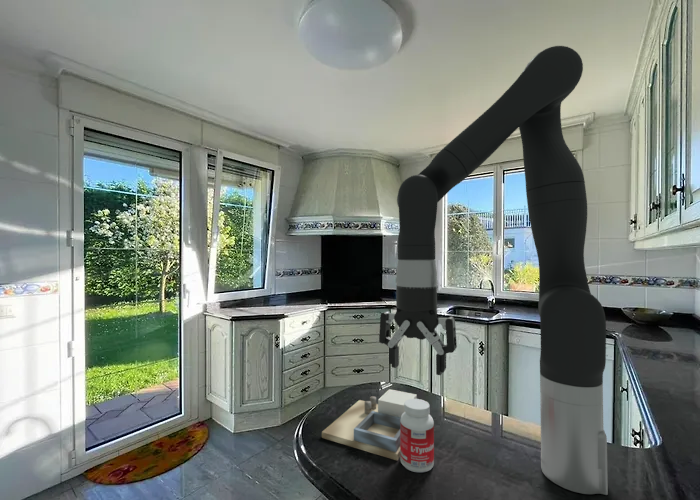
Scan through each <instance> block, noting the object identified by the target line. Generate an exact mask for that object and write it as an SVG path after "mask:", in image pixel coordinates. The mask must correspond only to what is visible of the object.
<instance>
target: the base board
mask: <svg viewBox="0 0 700 500" xmlns="http://www.w3.org/2000/svg"><path fill="white" fill-rule="evenodd" d="M400 420H401V418H400V417H396V416H392V415H387V414H383V413H379V412H378V403H377V396H373V395H372V396H370V397H369V400H361V399H359V400H358V401H356V402H355V403H354V404H353V405H352V406H350V407H349V408H348V409H347V410H346V411H345V412H343V414H340V416H339V417H337V418H336V419H335V420H334V421H333V422H331V423H330V424H329V425H328V426H327V427H326V428H324V429H323V430H322V431H321V438H322V439H325V440H327V441H331V442H335V443H338V444H341V445H345V446H347V447H351V448H354V449H358V450H361V451H365V452H368V453H371V454H373V455H378V456H381V457H384V458H388V459H391V460H394V461H399V459H400Z"/></svg>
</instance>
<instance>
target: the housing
mask: <svg viewBox="0 0 700 500" xmlns="http://www.w3.org/2000/svg"><path fill="white" fill-rule="evenodd" d="M417 395H418V394H416V393H411V392H406V391H402V390H401V391H400V390H395V389H390V388H389V389H388V390H387V391H386V392H384V393H383V394H382V395H381V396H380V398H378V399H377V404H378V412H379V413H383V414H387V415H392V416H396V417H400V418H401V416H402V414H403V413H404V412H405V410H404V403H405V401H406V400H409V399H418V396H417Z"/></svg>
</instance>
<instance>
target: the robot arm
mask: <svg viewBox="0 0 700 500" xmlns="http://www.w3.org/2000/svg"><path fill="white" fill-rule="evenodd" d="M583 64H584V63H583V60H582V58H581V55H580V54H579V53H578V51H576V50H574V49H573V48H571V47H569V46H565V45H554V46H549V47H547V48H545V49H543V50H541V51H540V52H538V53H537V54H536V55H534V56H533V58H531V59H530V61H529V62H527V64H526V66H525V68H524V69H523V71H522V72H521V73H520V75H519V76H518V78H516V80H515V81H514V82H513V83H512V85H510V87H508V89H506V91H505V92H504V93H503V94H502V95H501V96H500V97H499V98H498V99H497V100H495V102H494V103H492V105H490V107H489V108H487V109H486V110H485V111H484V112H483V113H482V114H481V115H480V116H478V118H476V119H475V120H474V121H472V123H470V124H469V125H468V126H467V127H466V128H465V129H463V130H462V131H461V132H460V133H459V134H458V135H457V136H455V137H454V138H453V139H452V140H451V141H450V142H448V144H446V145H445V146H443V148H442V149H441V150H440V151H439V152H438V153H437V154H436V155H435V156H434V157H433V158H432V160H431V161H430V162H429V164H428V165H427V166H426V167H425V168H423V170H421V171H420V172H419V173H418V174H414V175H411V176H409V177H407V178H406V179H405V180H404V181H402V183H401V184H400V186H399V188H398V193H397V197H396V198H397V199H396V203H397V207H398V218H399V219H398V220H399V221H398V222H399V224H398V225H399V230H398V237H397V264H396V277H395V283H396V285H395V286H396V287H395V288H396V291H395V292H396V293H395V294H396V295H395V296H396V298H395V299H396V301H395V302H396V304H395V306H396V312H391V311H384V312H382V313H381V314H380V316H379V317H380V318H379V319H380V321H379V337H378V341H379V343H380V344H381V345H382V344H384V345H386V346H387V347H388V363H389V364H390V365H391V368H393V369H396V368H398V367H399V366H400V351H399V350H400V346H399V345H398V344H399V343H400V342H401V340H402V339H403V338H404V337H406V338H407V339H414V338H415V339H417V340H421V341H422V340H425V339H426V340H427V342H428V343H429V344H430V345H431V346H432V347H433V349H434V350H435V352H436V355H435V369H436V370H435V372H436V375H437V376H441V375H443V373H444V372H445V371H446V369H447V354H448V353H452V354H453V353H454V351H456V349H457V347H458V344H457V332H456V331H457V330H456V318H455V317H453V316H449V317H440V316H439V314H438V271H437V265H436V238H435V237H436V231H435V230H436V224H437V213H438V203H439V202H440V201H441V200H442V199H443V198H444V197H445V196H446V195H447V194H448V193H449V192H450V191H451V190H452V189H453V188H454V187H456V186H457V185H459V184H460V183H462V182H463V181H464V180H465V179H466V178H468V177H469V176H470V175H471V174H472V173H473V172H474V171H476V170H477V169H478V168H479V167H480V166H481V165H482V164H484V162H486V161H487V160H489V158H490V157H491V156H492V155H493V154H494V153H495V152H496V150H498V149H499V148H500V147H501V146H502V145H503V143H504V142H506V140H507V139H508V138H509V137H510V136H512V135H513V133H515V131H517V130H518V129H519V132H520V138H521V145H522V157H523V167H524V168H523V169H524V177H525V193H526V202H527V211H528V218H529V223H530V228H531V233H532V238H533V242H534V246H535V251H536V254H537V259H538V269H539V270H538V271H539V272H538V273H539V274H538V275H539V277H538V279H539V281H538V285H539V286H538V287H539V288H538V290H539V291H538V304H537V305H538V306H537V307H538V309H537V310H538V315H539V317H540V319H539V321H540V322H539V323H540V324H539V325H540V327H539V328H540V329H539V330H540V355H539V356H540V357H539V385H540V386H539V388H540V389H539V391H540V392H539V394H540V395H539V396H540V397H539V399H540V401H539V403H540V407H539V408H540V467H541V471H542V473H543V475H544V476H545V477H546V478H547V479H548V480H550V481H551V482H552V483H554V484H556V485H557V486H559V487H561V488H563V489H565V490H568V491H571V492H574V493H579V494H583V495H595V494H597V495H598V494H601V495H605V496H607V495H609V492H608V486H609V485H608V483H609V482H608V443H607V442H608V438H607V433H606V432H605V429H604V428H605V427H604V387H603V386H604V384H603V383H604V382H603V381H604V371H605V369H606V360H607V323H606V322H607V320H606V314H605V310H604V307H603V305H602V303H601V302H600V301H599V299H597V297H596V296H594V294H592V293H591V290H590V285H589V282H588V276H587V271H586V267H585V264H586V263H585V243H586V235H587V228H588V227H587V225H588V224H587V223H588V197H587V192H586V191H587V190H586V181H585V176H584V173H583V169H582V166H581V165H580V163H579V162H578V160H577V158H576V157H575V155H574V154H573V152H572V150H571V149H570V148H569V147H568V145H567V143H566V141H565V138H564V135H563V134H564V133H563V128H562V120H561V119H562V118H561V117H562V116H561V108H562V106H561V105H562V103H563V101H564V100H565V99H567V98H568V96H570V95H571V93H572V92H574V90H575V88H576V87H577V85H578V84H579V83H580V80H581V78H582V75H583V71H584V65H583ZM393 322H395V324H396V325H397V326H398V329H397V330H396V331H395V333H394V334H393V336H392V337H390V333H391V332H390V331H391V324H393ZM439 325H441V328H442V329H443V331H445V337H446V338H445V339H446V344H445V343H444V342H443V340H442V338H441V336H440V334H439V333H438V332H437V330H436V329H437V327H438V326H439Z"/></svg>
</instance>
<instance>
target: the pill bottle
mask: <svg viewBox="0 0 700 500" xmlns="http://www.w3.org/2000/svg"><path fill="white" fill-rule="evenodd" d="M430 407H431V406H430V403H429V402H428V401H426V400H424V399H419V398H417V399H409V400H406V401H405V403H404V410H405V412H404V413H403V414H402V416H401V420H400V458H399V459H400V463H401V464H402V466H403V467H404V468H405V469H406V470H408V471H411V472H414V473H426V472H429V471H431V470H432V468H433V467H434V465H435V421H434V419H433V417H432V415H431V414H430V412H431V411H430V410H431V409H430Z"/></svg>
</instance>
